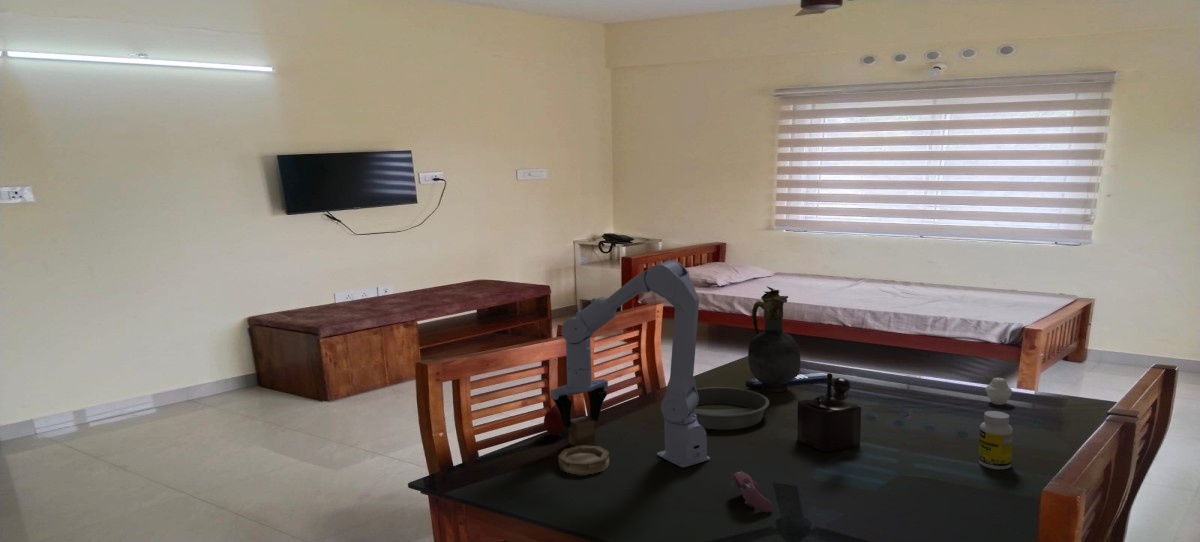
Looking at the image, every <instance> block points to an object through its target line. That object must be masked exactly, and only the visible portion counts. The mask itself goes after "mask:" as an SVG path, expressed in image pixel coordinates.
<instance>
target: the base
mask: <svg viewBox="0 0 1200 542" xmlns="http://www.w3.org/2000/svg"><path fill="white" fill-rule="evenodd" d="M557 460H558V464H559V465H558V466H559V467H558V468H559V469H560V470H561V471H562V470H563V471H565V472H567V473H566V474H568V473H571V474H570V475H572V474H577V475H576V476H588V475H587V474H592V475H595V474H594V473H597V474H599V473H598V472H600V473H602V472H604V471H606V470H607V469H608V468H609V467H608V466H610V451H609V450H607V449H605V448H603V447H602V446H598V445H595V446H587V445H581V446H575V447H573V446H571V447H568V448H564V449H562V451H561V452H560V453H559V454H558V458H557ZM605 469H606V470H605ZM563 471H562V472H563ZM601 471H602V472H601ZM565 472H564V473H565ZM578 474H579V475H578Z"/></svg>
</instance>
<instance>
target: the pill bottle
mask: <svg viewBox="0 0 1200 542" xmlns="http://www.w3.org/2000/svg"><path fill="white" fill-rule="evenodd" d="M983 415H984V416H983V420H984V421H983V422H981V424H980V425H979V438H978V462H979V464H980V465H981V466H983V467H985V468H988V469H991V470H999V471H1000V470H1006V469H1009V468H1011V467H1012V461H1013V460H1012V457H1013V440H1014V439H1013V438H1014V436H1013V435H1014V429H1013V427H1012V426H1011V425H1010V424H1009V423H1010V415H1009V414H1008V413H1006V412H1003V411H999V410H998V411H997V410H987V411H985V412H984V414H983Z"/></svg>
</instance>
